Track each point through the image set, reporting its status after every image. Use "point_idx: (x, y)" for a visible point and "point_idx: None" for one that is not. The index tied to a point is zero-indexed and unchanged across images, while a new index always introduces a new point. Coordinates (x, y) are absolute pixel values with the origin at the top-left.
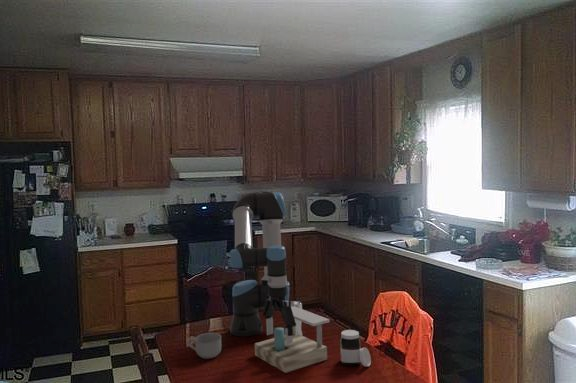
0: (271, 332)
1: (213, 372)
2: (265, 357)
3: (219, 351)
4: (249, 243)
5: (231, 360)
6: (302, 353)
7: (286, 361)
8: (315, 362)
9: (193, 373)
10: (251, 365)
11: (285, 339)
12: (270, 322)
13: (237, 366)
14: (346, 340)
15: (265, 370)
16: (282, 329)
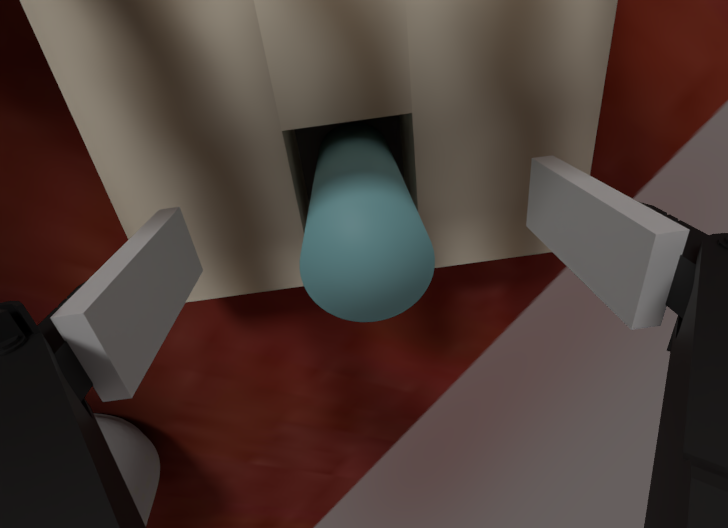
0: (182, 237)
1: (315, 458)
2: None
3: (128, 435)
4: None
5: (211, 378)
6: (591, 69)
7: None
8: None
9: (284, 505)
10: (328, 322)
11: (158, 24)
12: (135, 313)
13: (304, 375)
14: None
15: (433, 287)
16: (411, 239)
